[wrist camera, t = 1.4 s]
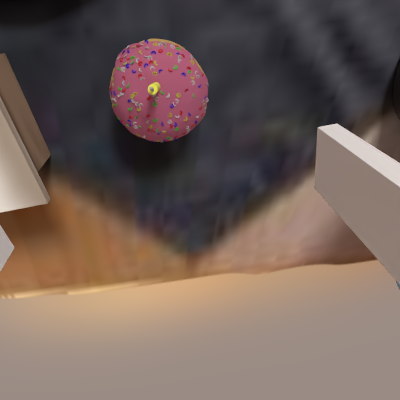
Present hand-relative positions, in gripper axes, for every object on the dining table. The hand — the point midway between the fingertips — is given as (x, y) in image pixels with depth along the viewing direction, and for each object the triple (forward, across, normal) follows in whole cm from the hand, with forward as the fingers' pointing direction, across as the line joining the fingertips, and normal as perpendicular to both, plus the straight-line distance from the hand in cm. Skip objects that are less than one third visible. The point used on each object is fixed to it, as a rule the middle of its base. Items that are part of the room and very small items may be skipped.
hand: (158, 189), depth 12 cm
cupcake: (+22, 0, 0) cm, 22 cm away
